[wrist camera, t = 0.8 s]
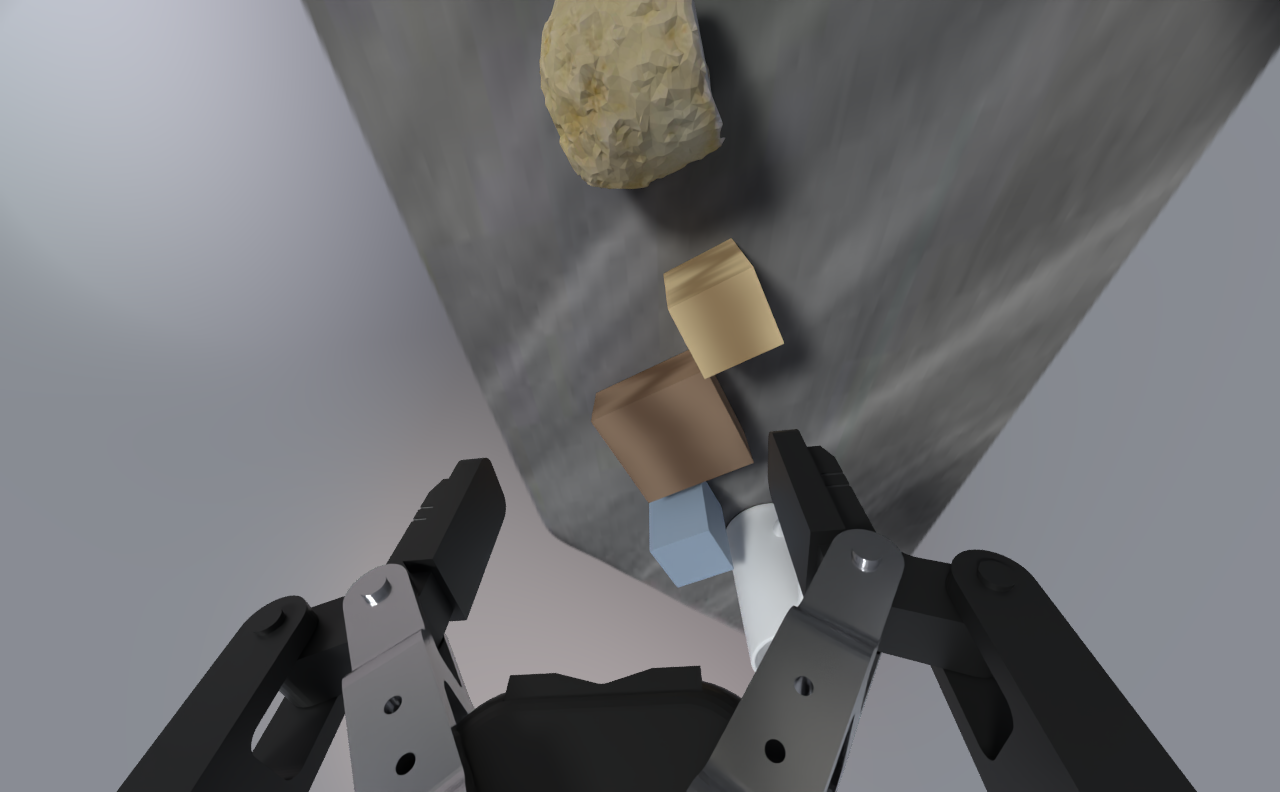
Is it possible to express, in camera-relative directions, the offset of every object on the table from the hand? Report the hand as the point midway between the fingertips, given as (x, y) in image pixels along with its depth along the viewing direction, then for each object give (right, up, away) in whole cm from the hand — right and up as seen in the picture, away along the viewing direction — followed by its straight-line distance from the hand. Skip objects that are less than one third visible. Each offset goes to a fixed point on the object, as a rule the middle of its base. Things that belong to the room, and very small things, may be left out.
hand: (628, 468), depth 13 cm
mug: (+13, -10, +30) cm, 34 cm away
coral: (0, +20, +13) cm, 24 cm away
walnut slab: (+3, +1, +24) cm, 24 cm away
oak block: (+5, +10, +19) cm, 22 cm away
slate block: (+5, -7, +29) cm, 30 cm away
